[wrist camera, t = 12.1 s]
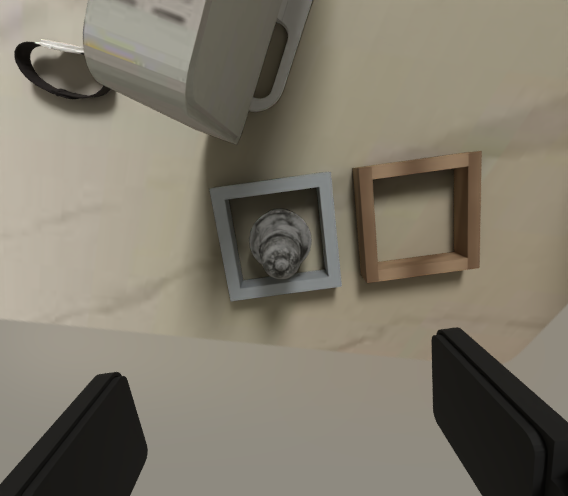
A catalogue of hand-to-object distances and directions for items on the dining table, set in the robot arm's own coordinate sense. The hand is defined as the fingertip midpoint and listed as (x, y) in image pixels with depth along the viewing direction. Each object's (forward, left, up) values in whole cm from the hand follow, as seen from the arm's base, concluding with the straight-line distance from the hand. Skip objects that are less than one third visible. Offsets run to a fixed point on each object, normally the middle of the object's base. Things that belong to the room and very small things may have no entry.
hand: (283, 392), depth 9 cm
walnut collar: (-14, 0, -24) cm, 28 cm away
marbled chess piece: (0, 0, -24) cm, 25 cm away
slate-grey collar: (0, 0, -24) cm, 24 cm away
